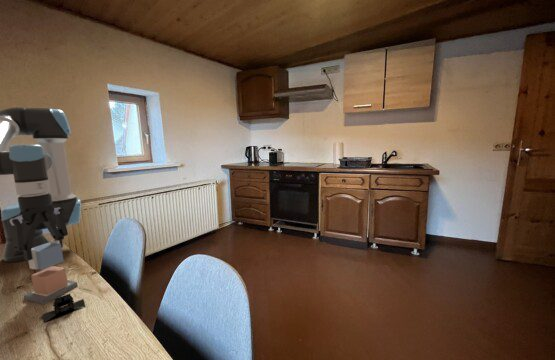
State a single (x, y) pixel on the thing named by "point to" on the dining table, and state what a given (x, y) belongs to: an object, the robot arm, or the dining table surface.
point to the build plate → (63, 307)
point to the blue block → (48, 255)
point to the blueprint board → (45, 298)
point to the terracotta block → (49, 280)
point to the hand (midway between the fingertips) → (46, 263)
